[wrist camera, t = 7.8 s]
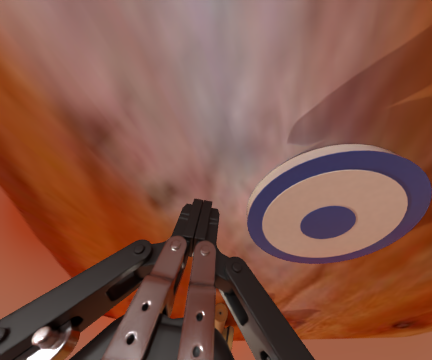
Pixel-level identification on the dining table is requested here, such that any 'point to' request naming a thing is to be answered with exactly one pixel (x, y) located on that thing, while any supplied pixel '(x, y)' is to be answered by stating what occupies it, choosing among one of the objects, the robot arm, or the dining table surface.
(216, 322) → the kendama
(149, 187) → the dining table surface
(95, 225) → the dining table surface
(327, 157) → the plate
